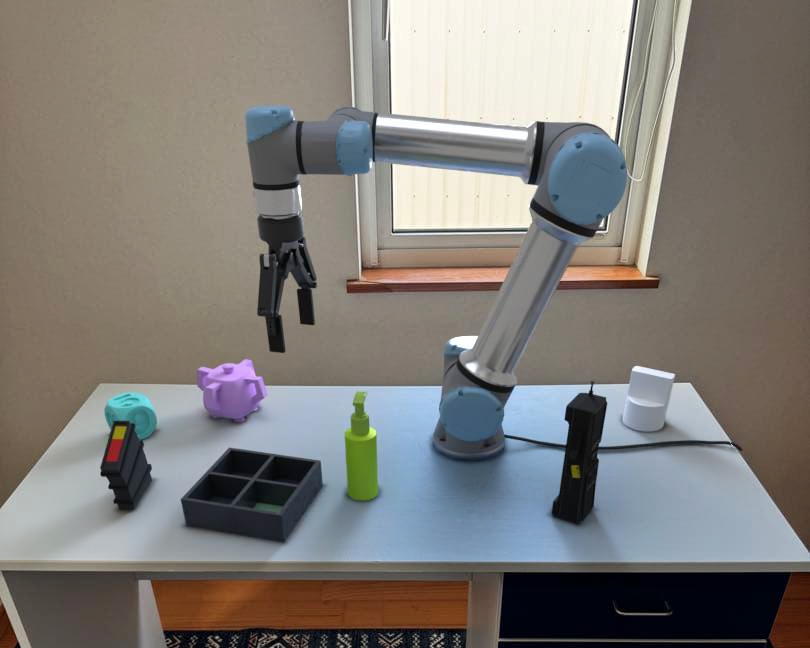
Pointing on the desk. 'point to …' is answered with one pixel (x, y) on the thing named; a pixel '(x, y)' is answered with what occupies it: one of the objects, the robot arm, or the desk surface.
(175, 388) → the desk surface
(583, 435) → the portable radio
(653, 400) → the cylinder with rectangular tab
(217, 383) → the pot
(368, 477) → the soap dispenser
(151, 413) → the decorative dice
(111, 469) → the black ridged block
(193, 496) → the rack
